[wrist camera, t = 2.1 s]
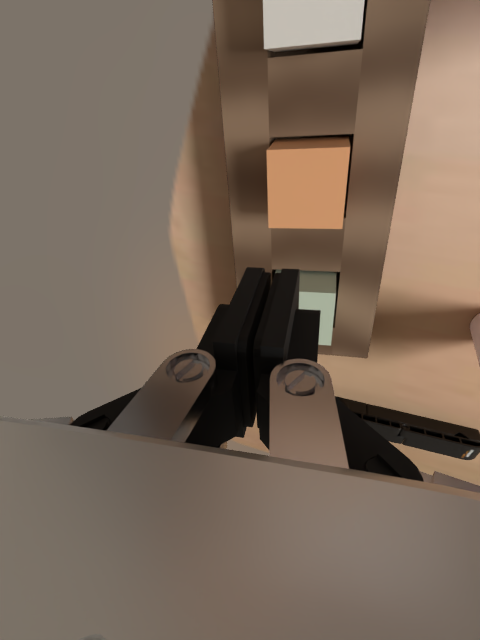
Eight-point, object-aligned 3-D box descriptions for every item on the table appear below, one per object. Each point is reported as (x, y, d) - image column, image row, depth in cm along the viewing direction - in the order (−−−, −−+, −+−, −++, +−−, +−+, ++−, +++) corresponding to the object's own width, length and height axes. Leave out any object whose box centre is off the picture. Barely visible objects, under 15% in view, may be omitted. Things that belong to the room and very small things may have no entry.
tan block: (275, 139, 25) (266, 150, 22) (348, 136, 24) (350, 146, 21) (276, 209, 28) (268, 228, 25) (341, 209, 27) (342, 229, 24)
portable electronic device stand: (318, 405, 44) (316, 424, 42) (323, 390, 42) (322, 410, 40) (469, 441, 42) (476, 463, 39) (479, 427, 40) (488, 450, 38)
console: (220, -122, 21) (199, -157, 18) (446, -170, 18) (469, -222, 15) (249, 324, 39) (241, 347, 36) (364, 332, 36) (367, 358, 33)
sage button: (277, 266, 31) (269, 290, 28) (336, 268, 30) (336, 293, 27) (277, 313, 34) (271, 340, 30) (331, 317, 33) (330, 345, 29)
